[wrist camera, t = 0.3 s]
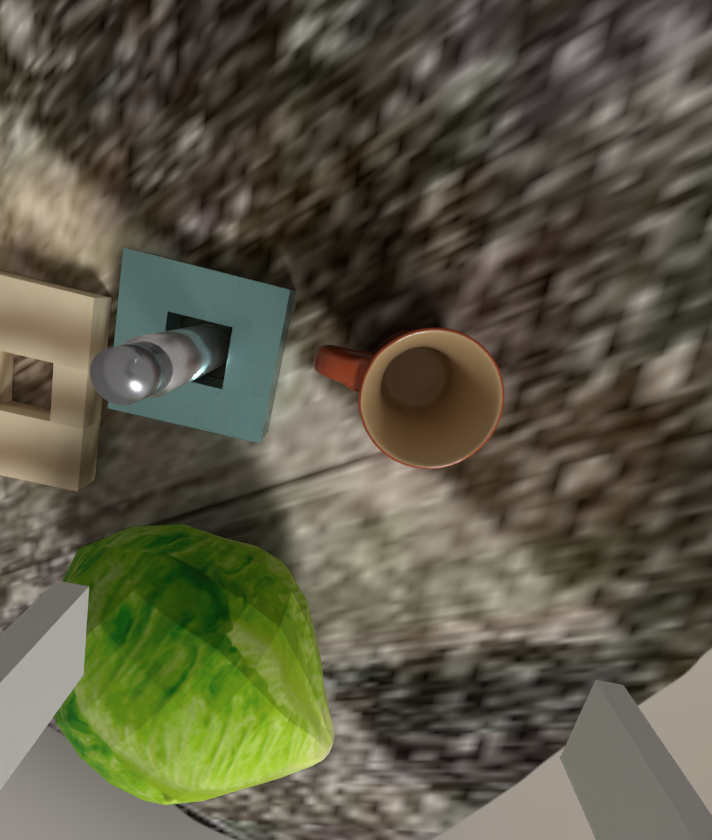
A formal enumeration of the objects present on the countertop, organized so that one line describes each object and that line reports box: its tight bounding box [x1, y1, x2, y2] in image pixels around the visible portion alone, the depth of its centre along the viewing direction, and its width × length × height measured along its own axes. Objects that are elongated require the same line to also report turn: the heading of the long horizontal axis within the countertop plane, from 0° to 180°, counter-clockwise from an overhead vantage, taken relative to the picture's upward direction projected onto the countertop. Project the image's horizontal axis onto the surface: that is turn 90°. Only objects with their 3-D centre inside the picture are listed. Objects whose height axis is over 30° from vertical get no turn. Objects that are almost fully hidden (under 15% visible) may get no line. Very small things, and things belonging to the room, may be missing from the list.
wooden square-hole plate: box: [0, 270, 112, 492], centre depth 36 cm, size 16×10×2 cm, turn 166°
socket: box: [108, 248, 296, 443], centre depth 35 cm, size 12×12×3 cm
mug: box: [313, 328, 504, 469], centre depth 31 cm, size 12×9×10 cm
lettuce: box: [53, 524, 334, 805], centre depth 34 cm, size 19×25×17 cm
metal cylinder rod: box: [90, 324, 230, 405], centre depth 29 cm, size 4×4×14 cm
